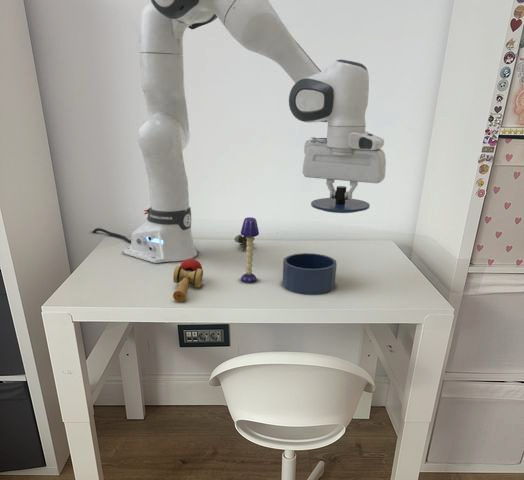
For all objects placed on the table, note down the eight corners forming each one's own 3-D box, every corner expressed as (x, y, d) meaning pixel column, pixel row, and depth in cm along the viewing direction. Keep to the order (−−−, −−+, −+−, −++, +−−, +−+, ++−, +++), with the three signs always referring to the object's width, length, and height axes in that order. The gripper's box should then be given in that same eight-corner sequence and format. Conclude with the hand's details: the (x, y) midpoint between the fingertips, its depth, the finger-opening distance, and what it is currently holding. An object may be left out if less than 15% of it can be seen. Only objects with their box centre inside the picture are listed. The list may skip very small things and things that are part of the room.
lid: (301, 210, 123) (302, 188, 120) (322, 200, 134) (324, 180, 132) (359, 217, 117) (361, 194, 115) (376, 205, 128) (378, 184, 126)
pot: (274, 288, 129) (274, 264, 126) (294, 273, 140) (295, 250, 137) (323, 298, 124) (325, 273, 121) (341, 281, 134) (343, 258, 131)
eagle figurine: (261, 248, 156) (263, 235, 163) (249, 230, 153) (251, 218, 160) (241, 259, 159) (244, 246, 166) (228, 241, 156) (232, 229, 163)
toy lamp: (261, 280, 134) (262, 217, 126) (252, 285, 131) (252, 221, 123) (246, 276, 136) (246, 215, 128) (237, 281, 133) (236, 218, 125)
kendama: (199, 307, 120) (210, 272, 135) (192, 284, 117) (204, 251, 131) (168, 311, 121) (182, 276, 136) (161, 288, 118) (176, 255, 132)
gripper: (299, 137, 120) (297, 197, 126) (384, 142, 112) (376, 205, 118) (309, 135, 125) (307, 192, 131) (391, 140, 117) (383, 200, 123)
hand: (340, 198), depth 125 cm, fingers closed on lid, 2 cm apart
